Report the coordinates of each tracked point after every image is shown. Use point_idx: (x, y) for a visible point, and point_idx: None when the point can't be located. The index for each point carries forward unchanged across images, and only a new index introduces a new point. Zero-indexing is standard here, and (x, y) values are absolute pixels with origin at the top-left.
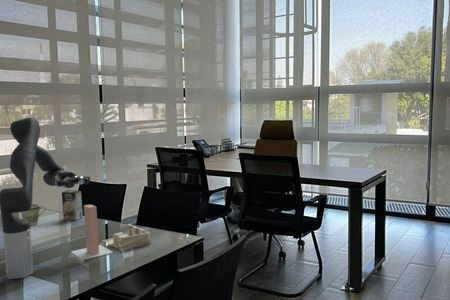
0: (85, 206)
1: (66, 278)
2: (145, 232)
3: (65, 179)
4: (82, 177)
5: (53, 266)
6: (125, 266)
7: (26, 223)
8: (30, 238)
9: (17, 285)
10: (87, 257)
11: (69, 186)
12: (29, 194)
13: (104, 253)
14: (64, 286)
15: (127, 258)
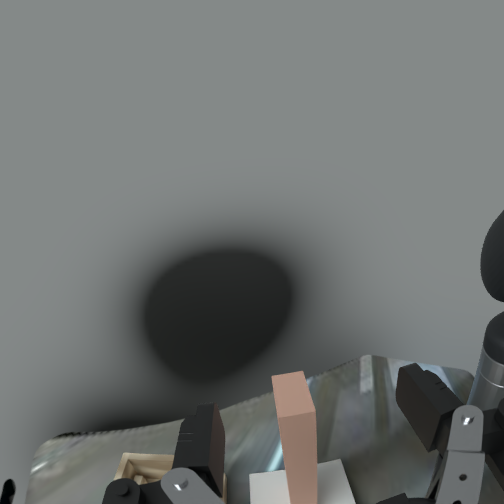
0: (311, 398)
1: (381, 403)
2: (132, 458)
3: (465, 450)
4: None
5: (415, 468)
6: (260, 413)
7: (488, 324)
8: (477, 373)
9: (465, 395)
10: (326, 469)
11: (398, 400)
12: (485, 240)
13: (274, 476)
14: (383, 378)
15: (233, 446)
